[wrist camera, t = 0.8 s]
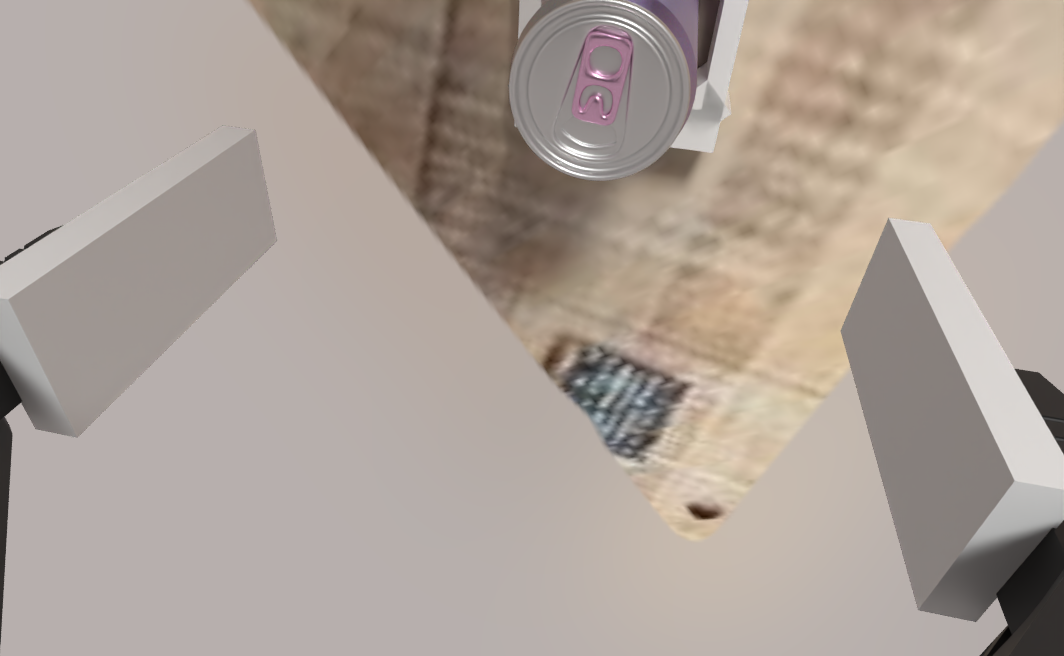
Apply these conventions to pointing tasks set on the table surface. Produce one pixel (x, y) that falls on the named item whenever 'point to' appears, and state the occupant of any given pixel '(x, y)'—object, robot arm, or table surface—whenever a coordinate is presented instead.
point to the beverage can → (605, 83)
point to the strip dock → (710, 76)
